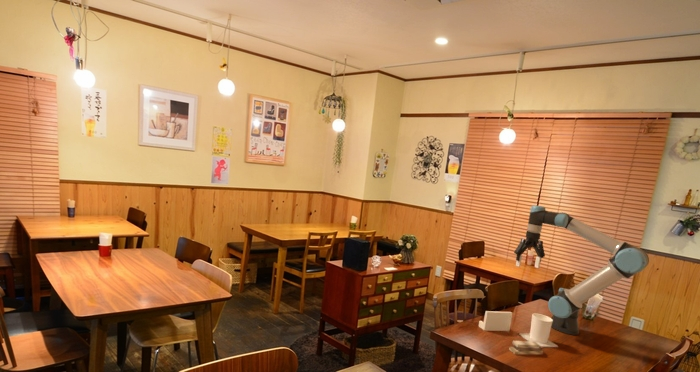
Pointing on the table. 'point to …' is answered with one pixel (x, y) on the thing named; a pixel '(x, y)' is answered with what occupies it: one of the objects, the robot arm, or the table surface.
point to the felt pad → (548, 344)
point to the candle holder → (540, 328)
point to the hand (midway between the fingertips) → (527, 267)
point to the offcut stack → (526, 347)
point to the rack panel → (496, 321)
